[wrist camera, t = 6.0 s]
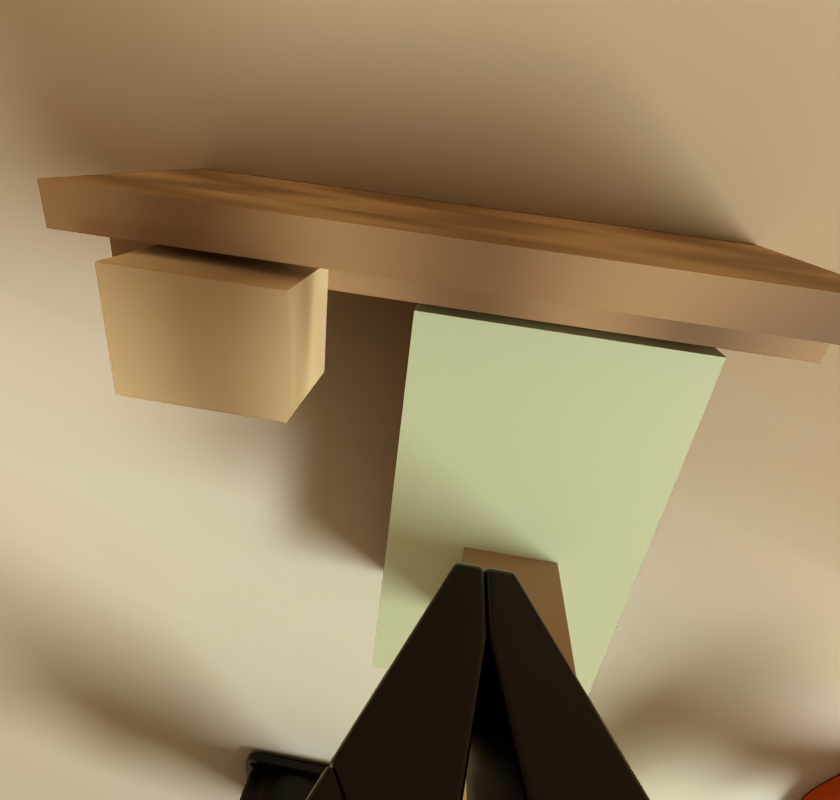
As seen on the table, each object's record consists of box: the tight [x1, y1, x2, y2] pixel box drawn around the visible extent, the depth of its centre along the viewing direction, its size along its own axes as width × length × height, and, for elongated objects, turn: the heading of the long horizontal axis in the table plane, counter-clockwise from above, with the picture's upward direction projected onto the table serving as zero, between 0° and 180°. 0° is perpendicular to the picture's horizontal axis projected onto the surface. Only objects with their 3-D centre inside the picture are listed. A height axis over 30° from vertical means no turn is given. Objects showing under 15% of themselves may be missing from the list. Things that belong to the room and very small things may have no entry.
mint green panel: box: [373, 304, 726, 800], centre depth 14 cm, size 8×14×8 cm, turn 173°
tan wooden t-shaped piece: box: [38, 168, 840, 363], centre depth 17 cm, size 18×16×7 cm
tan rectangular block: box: [95, 244, 328, 423], centre depth 12 cm, size 4×3×3 cm
